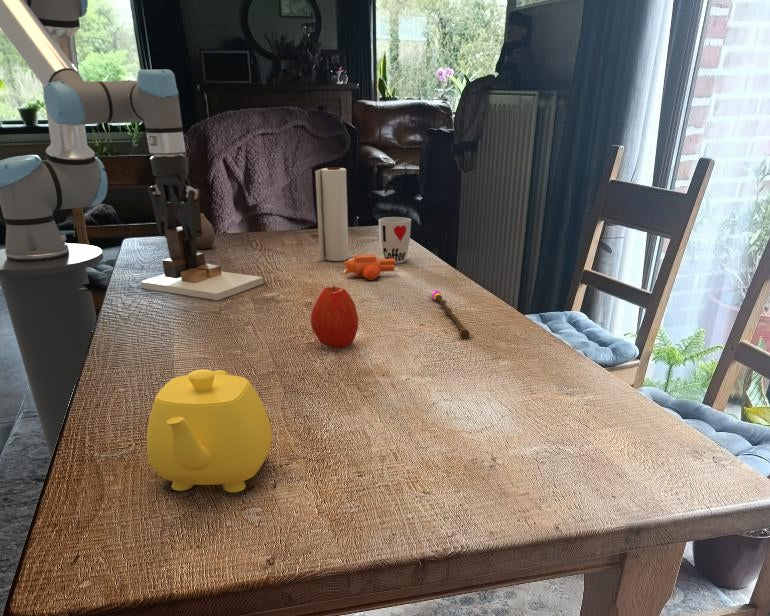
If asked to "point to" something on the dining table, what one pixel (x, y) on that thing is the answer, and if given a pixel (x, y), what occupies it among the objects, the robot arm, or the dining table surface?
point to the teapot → (208, 431)
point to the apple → (334, 318)
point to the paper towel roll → (332, 213)
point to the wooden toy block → (178, 254)
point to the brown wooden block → (193, 275)
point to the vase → (205, 234)
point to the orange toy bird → (368, 266)
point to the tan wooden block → (211, 270)
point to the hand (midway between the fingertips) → (185, 268)
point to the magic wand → (450, 314)
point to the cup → (395, 237)
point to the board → (205, 285)
